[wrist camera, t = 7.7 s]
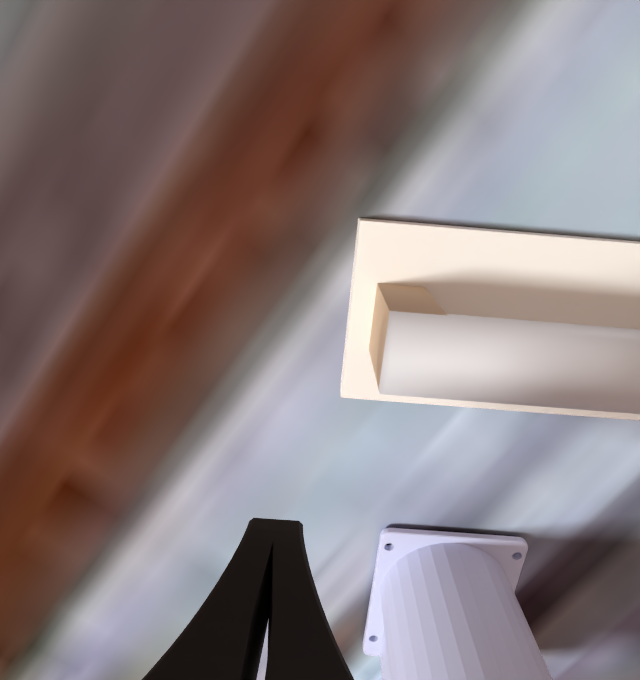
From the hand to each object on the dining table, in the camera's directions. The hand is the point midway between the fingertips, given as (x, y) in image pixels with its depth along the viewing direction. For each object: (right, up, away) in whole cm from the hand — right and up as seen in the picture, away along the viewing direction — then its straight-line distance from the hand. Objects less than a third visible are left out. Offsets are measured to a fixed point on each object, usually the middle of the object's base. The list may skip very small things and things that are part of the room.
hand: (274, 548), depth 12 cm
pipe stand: (+17, +6, +9) cm, 20 cm away
